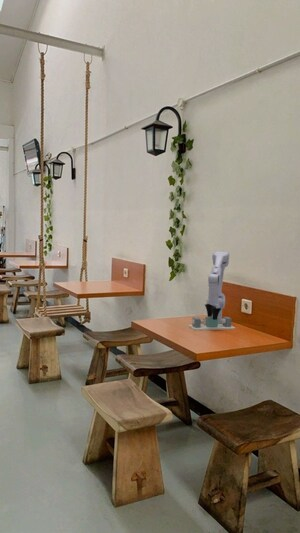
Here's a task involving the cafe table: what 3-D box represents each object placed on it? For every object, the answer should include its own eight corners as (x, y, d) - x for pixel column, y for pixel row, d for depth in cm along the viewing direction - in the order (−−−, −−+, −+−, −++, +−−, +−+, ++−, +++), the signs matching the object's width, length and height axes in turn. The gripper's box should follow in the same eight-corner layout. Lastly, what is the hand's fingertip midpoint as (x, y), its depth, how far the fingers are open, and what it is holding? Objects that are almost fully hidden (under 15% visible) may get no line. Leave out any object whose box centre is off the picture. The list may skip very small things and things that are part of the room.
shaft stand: (188, 326, 241) (189, 316, 241) (228, 325, 247) (228, 316, 247) (194, 330, 232) (194, 320, 232) (234, 329, 239) (235, 319, 238)
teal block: (214, 325, 242) (215, 316, 242) (217, 327, 239) (218, 317, 238) (205, 325, 241) (205, 316, 240) (207, 327, 237) (208, 317, 237)
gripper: (202, 292, 244) (201, 315, 245) (212, 297, 230) (210, 321, 231) (213, 292, 246) (212, 315, 247) (223, 297, 232) (222, 320, 233)
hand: (212, 318), depth 239 cm, fingers open, 7 cm apart
